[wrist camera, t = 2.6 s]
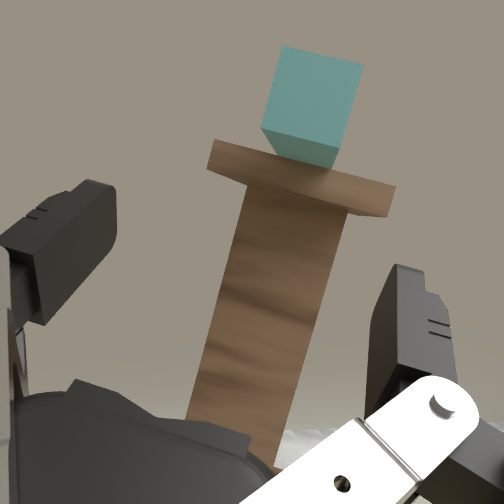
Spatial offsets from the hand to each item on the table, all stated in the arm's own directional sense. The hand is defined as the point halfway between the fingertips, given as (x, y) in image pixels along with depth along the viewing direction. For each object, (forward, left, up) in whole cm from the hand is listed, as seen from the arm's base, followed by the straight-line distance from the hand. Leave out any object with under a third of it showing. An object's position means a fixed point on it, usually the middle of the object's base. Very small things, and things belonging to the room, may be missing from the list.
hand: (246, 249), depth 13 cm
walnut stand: (-22, -17, -28) cm, 39 cm away
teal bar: (-16, -12, +4) cm, 21 cm away
